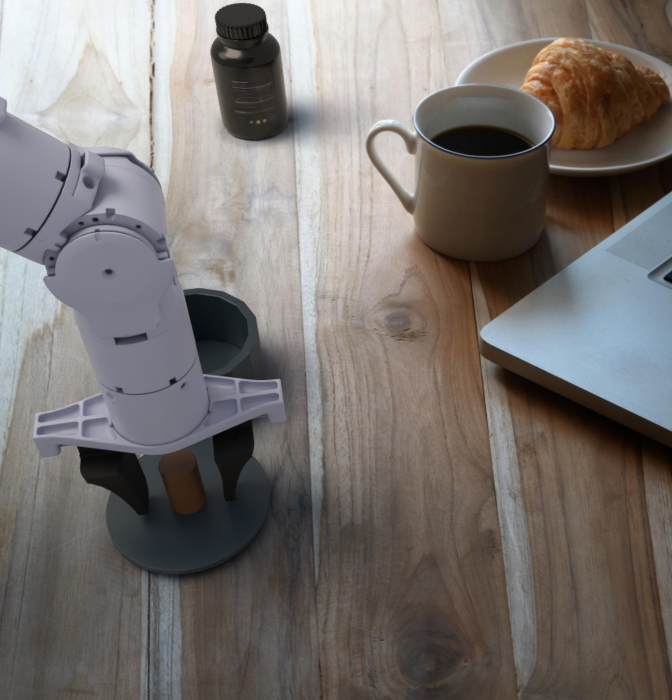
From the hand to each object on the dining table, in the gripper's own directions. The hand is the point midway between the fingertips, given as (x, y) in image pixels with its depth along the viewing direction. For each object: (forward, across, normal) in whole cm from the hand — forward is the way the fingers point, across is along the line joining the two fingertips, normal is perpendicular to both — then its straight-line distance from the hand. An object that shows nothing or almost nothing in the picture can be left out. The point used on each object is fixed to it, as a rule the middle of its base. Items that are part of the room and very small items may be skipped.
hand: (187, 495), depth 63 cm
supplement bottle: (+2, -8, -47) cm, 48 cm away
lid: (+1, 0, 0) cm, 1 cm away
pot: (+2, -1, -12) cm, 12 cm away
